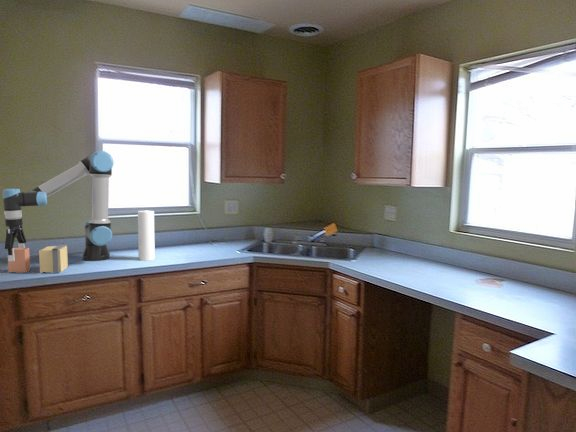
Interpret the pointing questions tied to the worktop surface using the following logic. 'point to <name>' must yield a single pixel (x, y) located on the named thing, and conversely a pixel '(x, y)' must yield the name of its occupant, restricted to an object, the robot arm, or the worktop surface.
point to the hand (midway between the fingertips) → (17, 258)
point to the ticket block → (53, 258)
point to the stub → (20, 260)
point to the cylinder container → (146, 235)
